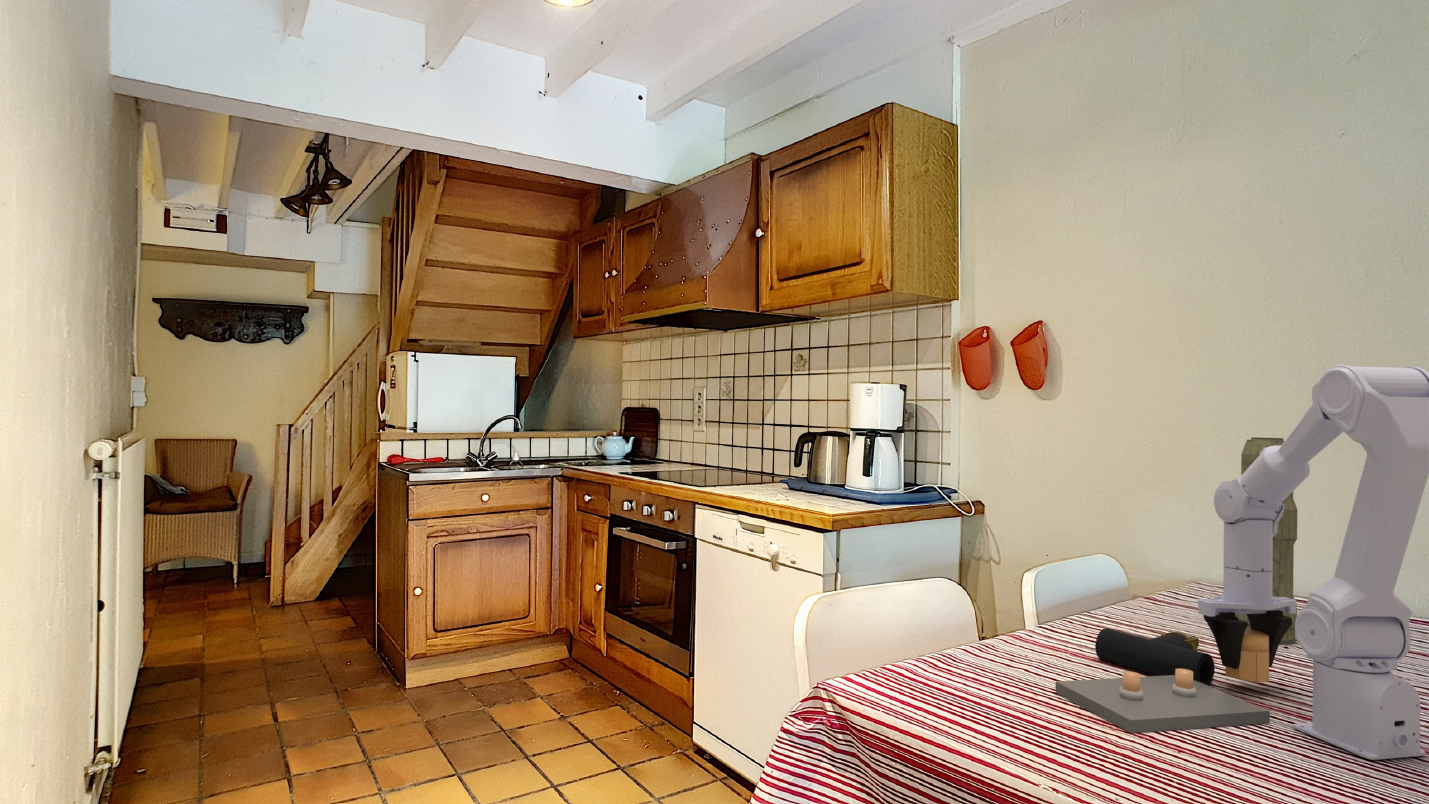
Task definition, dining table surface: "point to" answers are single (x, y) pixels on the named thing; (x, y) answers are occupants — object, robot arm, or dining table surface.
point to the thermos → (1277, 538)
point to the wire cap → (1253, 658)
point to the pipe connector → (1156, 654)
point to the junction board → (1160, 702)
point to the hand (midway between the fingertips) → (1246, 665)
